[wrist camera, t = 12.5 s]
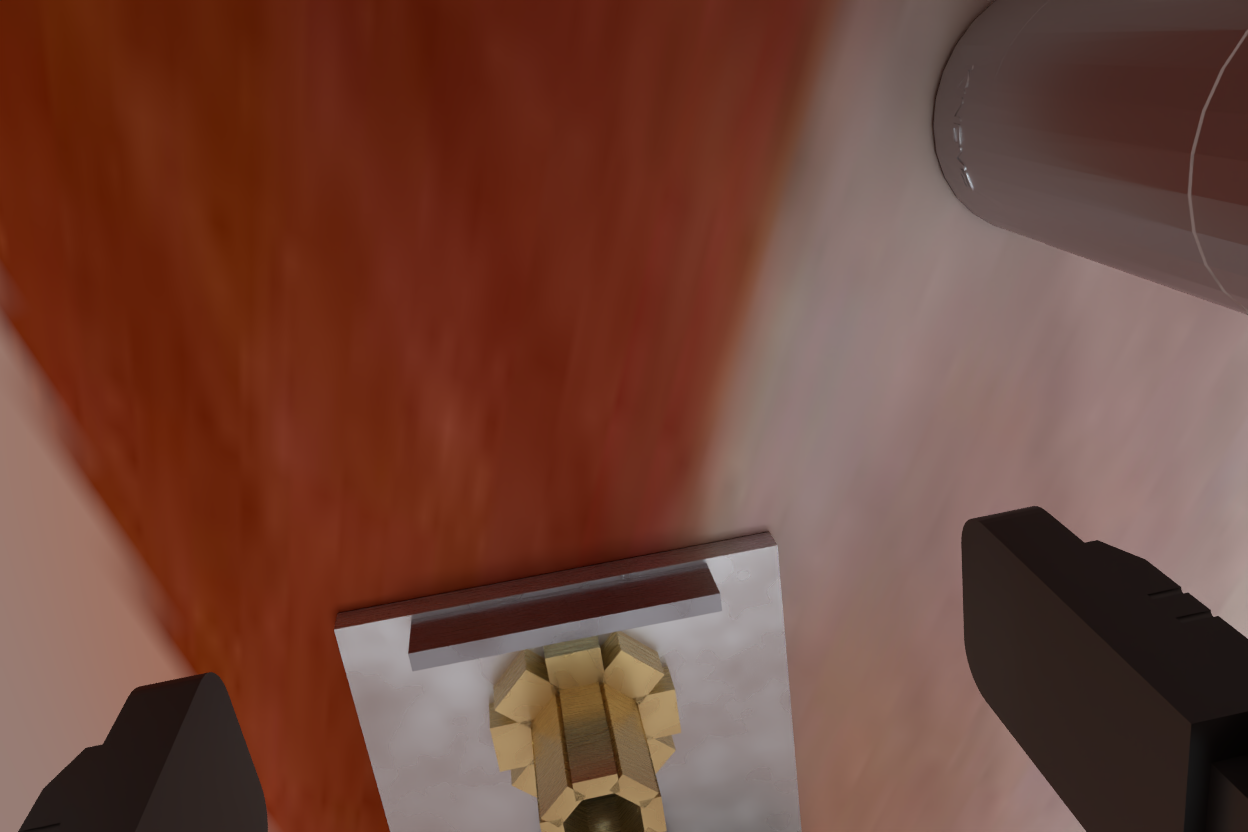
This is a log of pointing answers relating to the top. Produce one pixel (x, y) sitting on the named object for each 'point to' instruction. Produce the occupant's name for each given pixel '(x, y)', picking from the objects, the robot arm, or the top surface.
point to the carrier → (597, 606)
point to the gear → (588, 733)
